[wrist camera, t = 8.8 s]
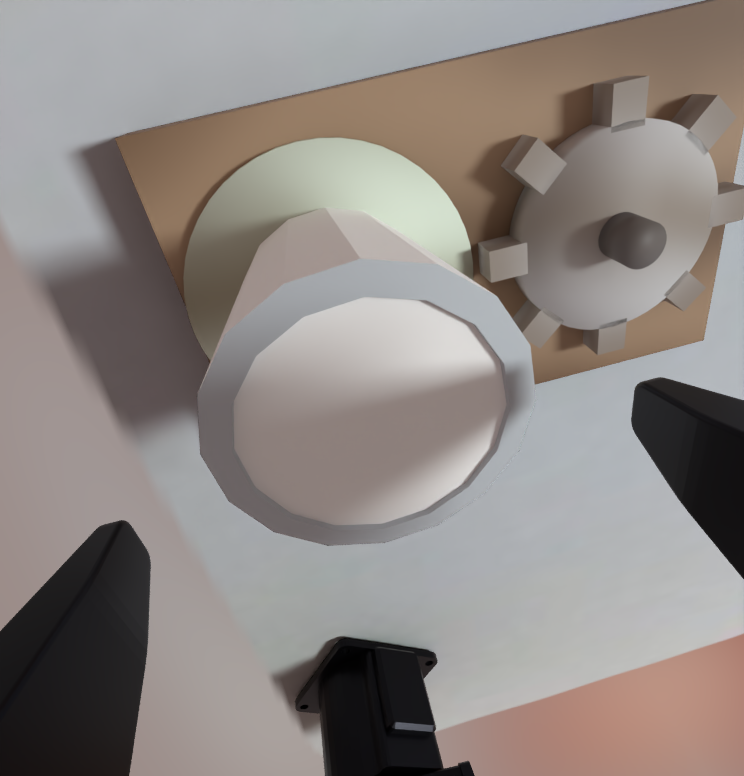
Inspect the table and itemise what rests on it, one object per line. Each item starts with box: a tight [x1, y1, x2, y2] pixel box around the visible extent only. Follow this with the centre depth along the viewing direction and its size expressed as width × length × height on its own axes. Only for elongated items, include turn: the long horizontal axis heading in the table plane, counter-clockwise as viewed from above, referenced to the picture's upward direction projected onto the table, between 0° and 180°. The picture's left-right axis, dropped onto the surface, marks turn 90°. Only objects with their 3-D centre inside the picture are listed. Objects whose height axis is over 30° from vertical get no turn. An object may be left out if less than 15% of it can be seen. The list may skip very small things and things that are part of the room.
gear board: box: [115, 0, 744, 384], centre depth 16 cm, size 11×18×4 cm, turn 101°
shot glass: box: [197, 207, 536, 546], centre depth 13 cm, size 7×7×7 cm
